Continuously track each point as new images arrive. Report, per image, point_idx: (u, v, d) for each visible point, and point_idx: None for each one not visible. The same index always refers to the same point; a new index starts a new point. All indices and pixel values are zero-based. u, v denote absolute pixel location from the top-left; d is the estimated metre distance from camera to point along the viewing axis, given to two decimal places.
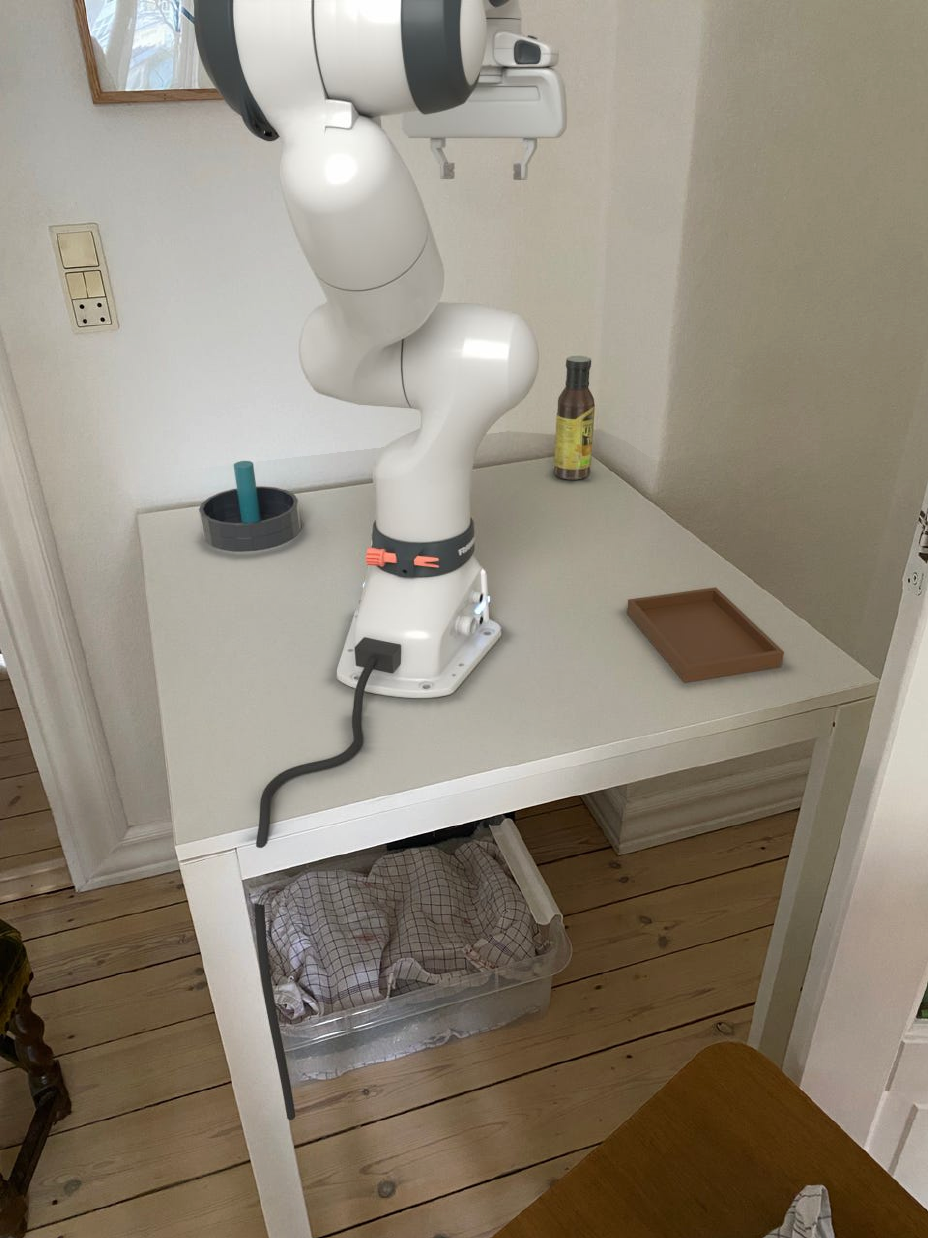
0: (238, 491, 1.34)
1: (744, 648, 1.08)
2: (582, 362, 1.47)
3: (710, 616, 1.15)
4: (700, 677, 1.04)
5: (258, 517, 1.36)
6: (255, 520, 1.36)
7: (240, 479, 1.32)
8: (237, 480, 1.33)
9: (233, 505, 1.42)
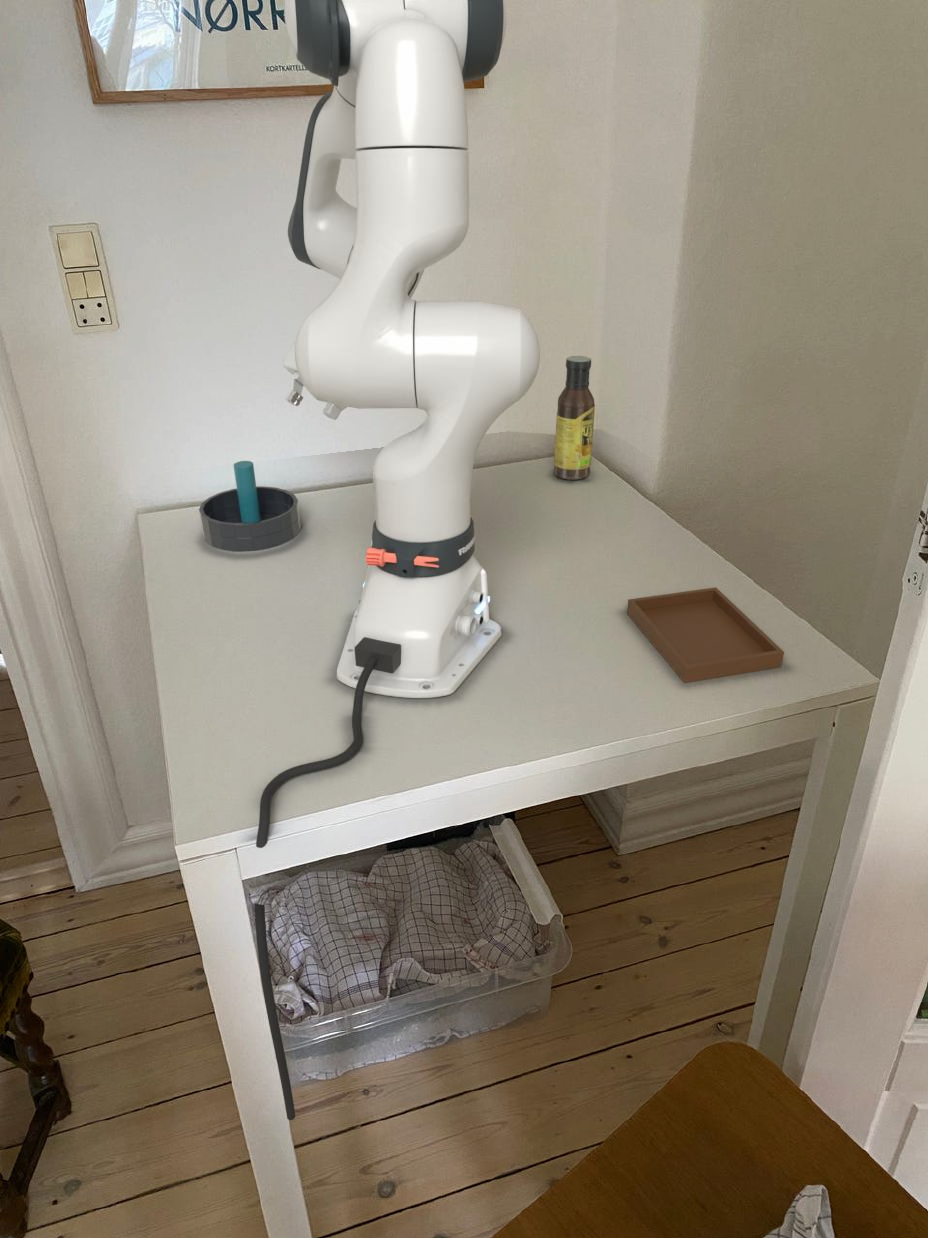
0: (238, 491, 1.34)
1: (744, 648, 1.08)
2: (582, 362, 1.47)
3: (710, 616, 1.15)
4: (700, 677, 1.04)
5: (258, 517, 1.36)
6: (255, 520, 1.36)
7: (240, 479, 1.32)
8: (237, 480, 1.33)
9: (233, 505, 1.42)
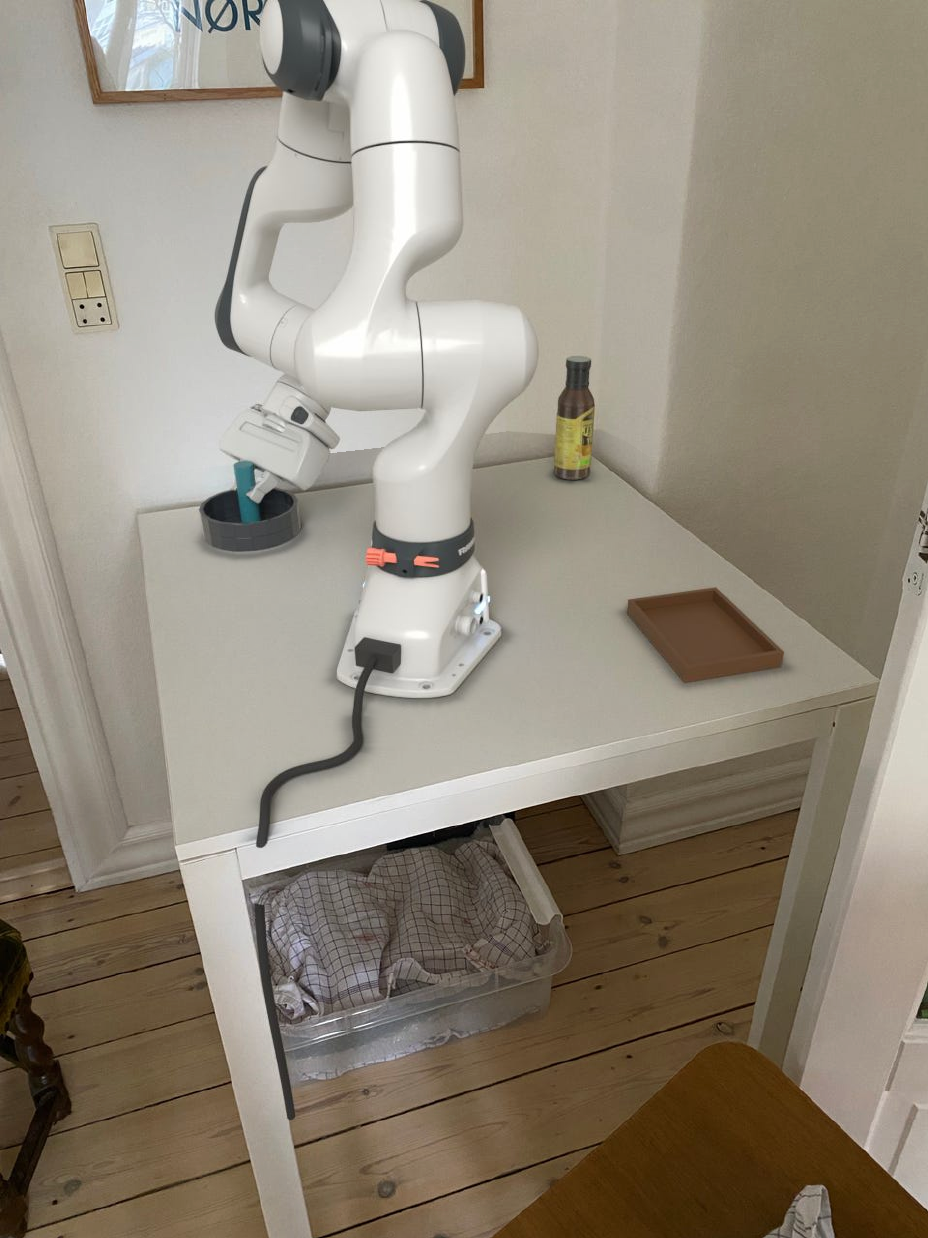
0: (238, 491, 1.34)
1: (744, 648, 1.08)
2: (582, 362, 1.47)
3: (710, 616, 1.15)
4: (700, 677, 1.04)
5: (258, 517, 1.36)
6: (255, 520, 1.36)
7: (240, 479, 1.32)
8: (237, 480, 1.33)
9: (233, 505, 1.42)
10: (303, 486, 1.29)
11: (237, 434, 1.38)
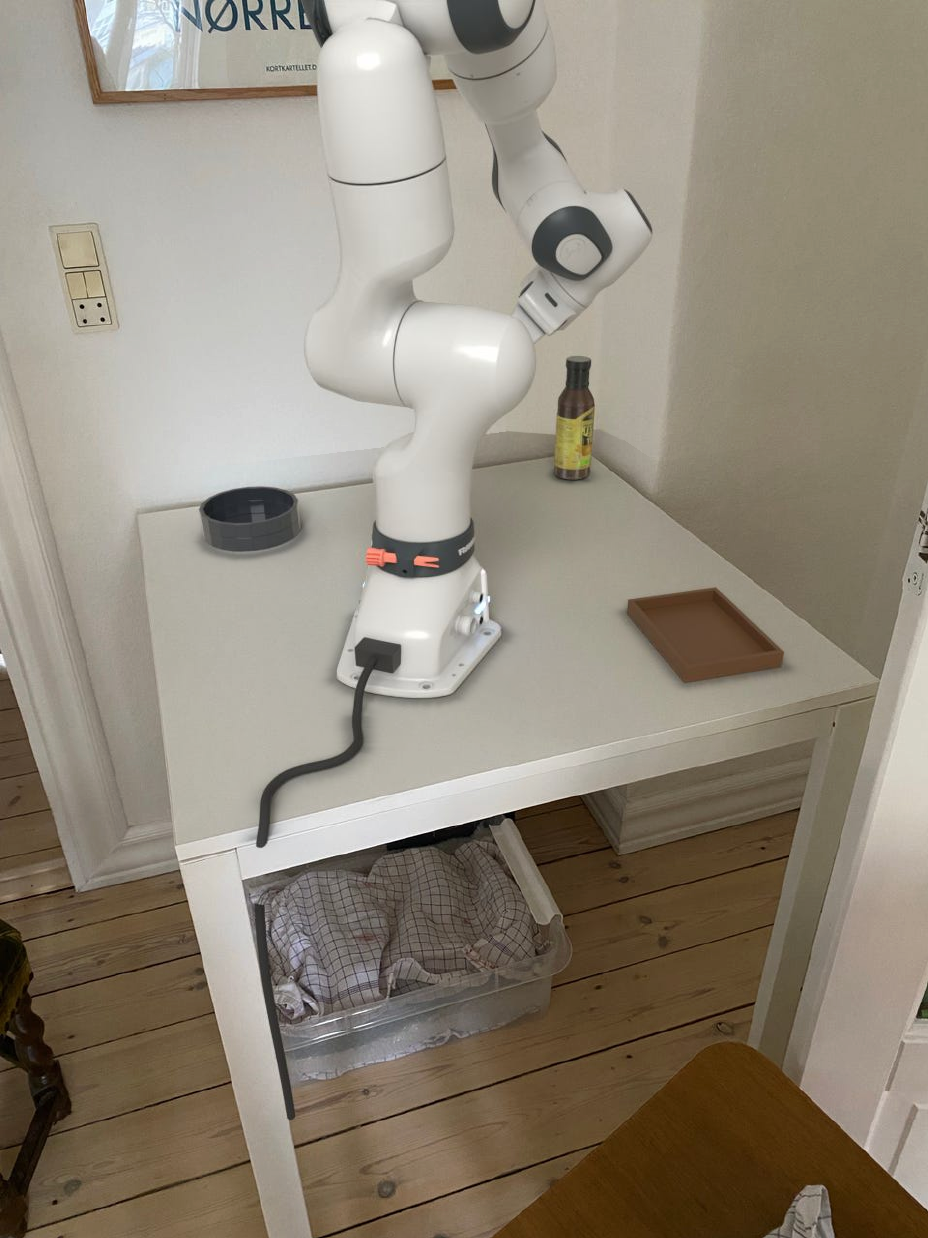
0: None
1: (744, 648, 1.08)
2: (582, 362, 1.47)
3: (710, 616, 1.15)
4: (700, 677, 1.04)
5: None
6: None
7: None
8: None
9: (233, 505, 1.42)
10: None
11: None
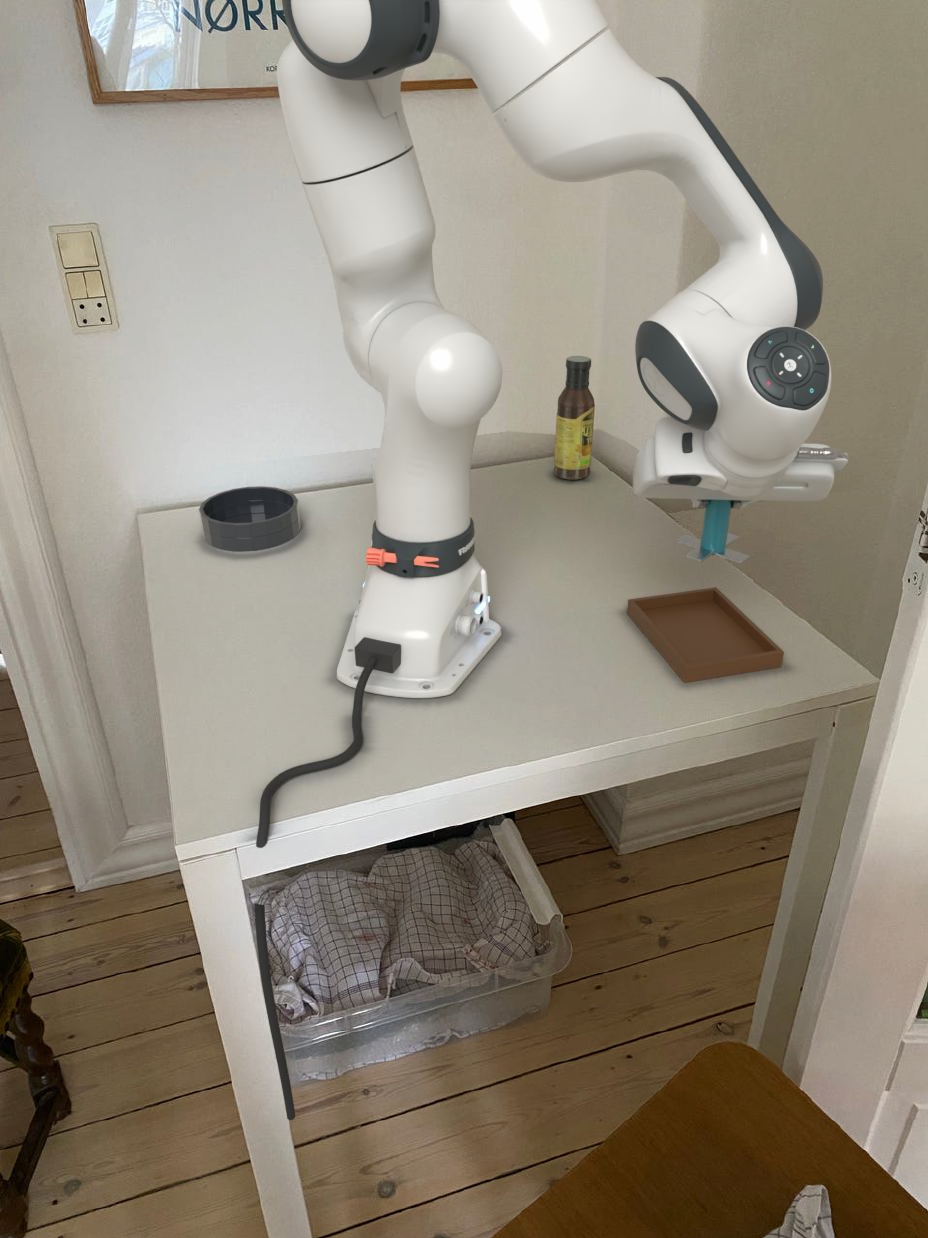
0: None
1: (744, 648, 1.08)
2: (582, 362, 1.47)
3: (710, 616, 1.15)
4: (700, 677, 1.04)
5: (704, 533, 1.04)
6: (702, 533, 1.05)
7: None
8: None
9: (233, 505, 1.42)
10: None
11: None
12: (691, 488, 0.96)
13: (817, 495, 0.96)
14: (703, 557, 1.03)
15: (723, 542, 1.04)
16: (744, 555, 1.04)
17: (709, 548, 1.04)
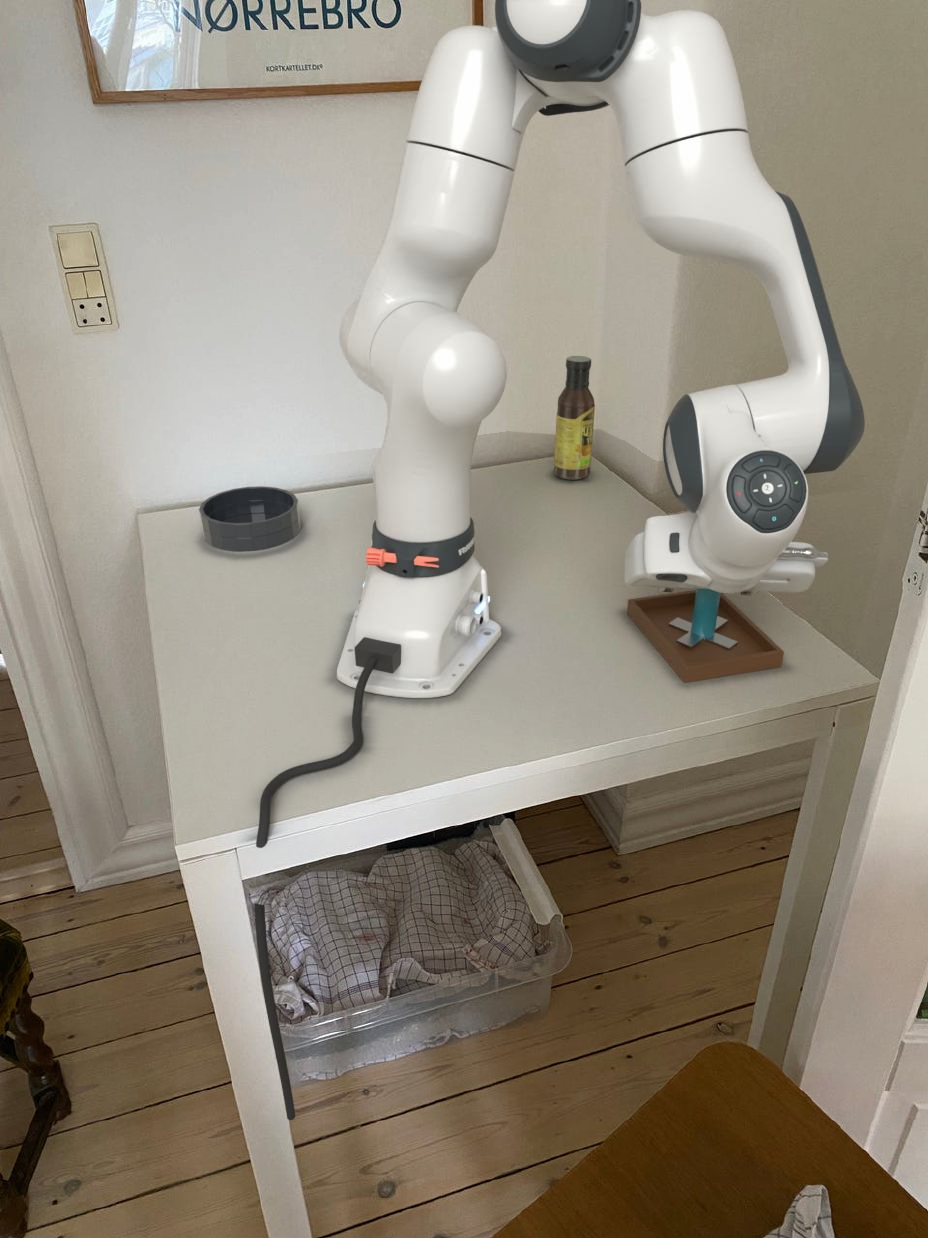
0: None
1: (744, 648, 1.08)
2: (582, 362, 1.47)
3: None
4: (700, 677, 1.04)
5: (694, 619, 1.10)
6: (692, 618, 1.10)
7: None
8: None
9: (233, 505, 1.42)
10: None
11: None
12: None
13: (800, 587, 1.00)
14: (693, 643, 1.08)
15: (712, 628, 1.09)
16: (732, 641, 1.09)
17: (699, 634, 1.10)
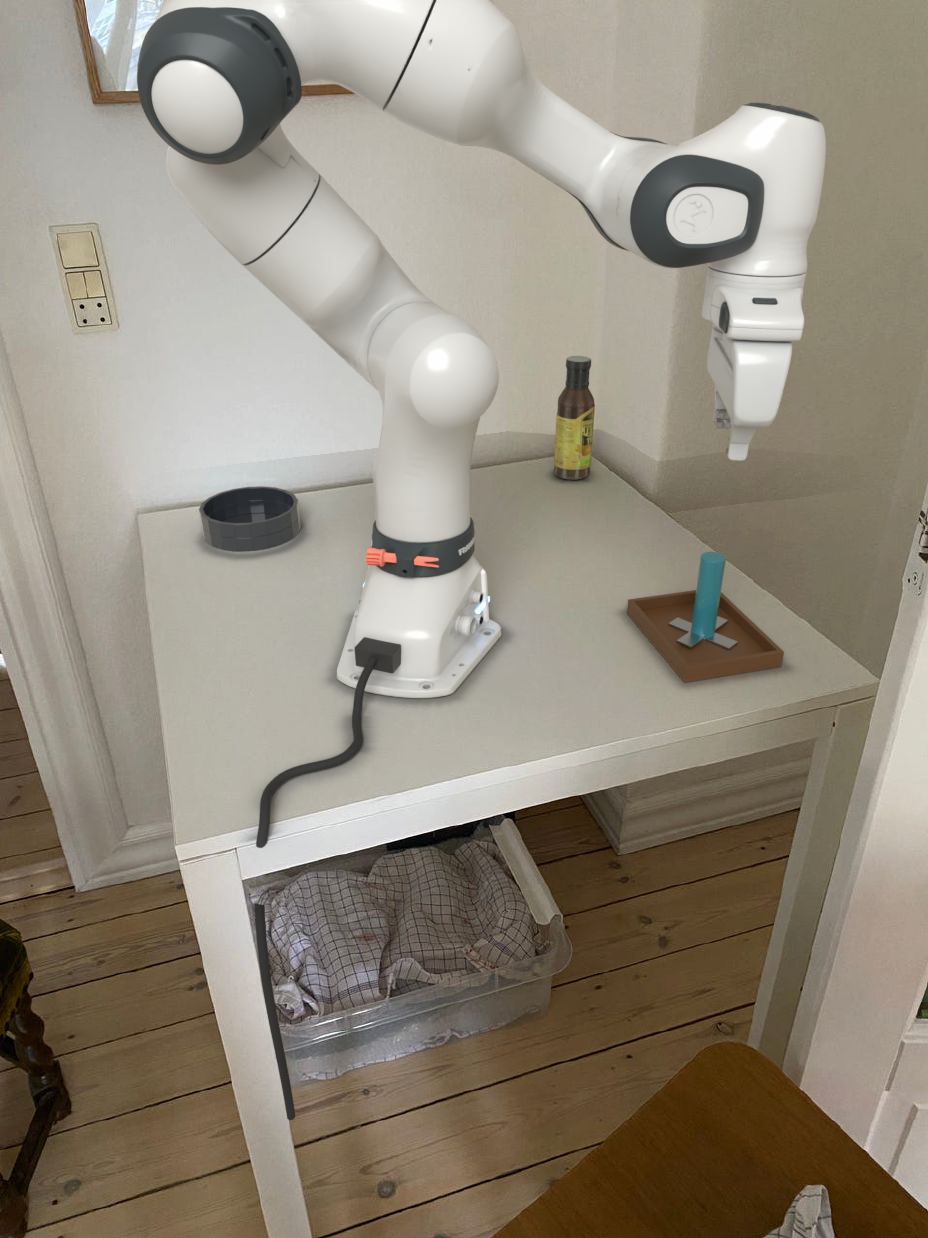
0: None
1: (744, 648, 1.08)
2: (582, 362, 1.47)
3: None
4: (700, 677, 1.04)
5: (694, 619, 1.10)
6: (692, 618, 1.10)
7: None
8: None
9: (233, 505, 1.42)
10: (759, 424, 0.83)
11: (713, 348, 0.96)
12: None
13: None
14: (693, 643, 1.08)
15: (712, 628, 1.09)
16: (732, 641, 1.09)
17: (699, 634, 1.10)
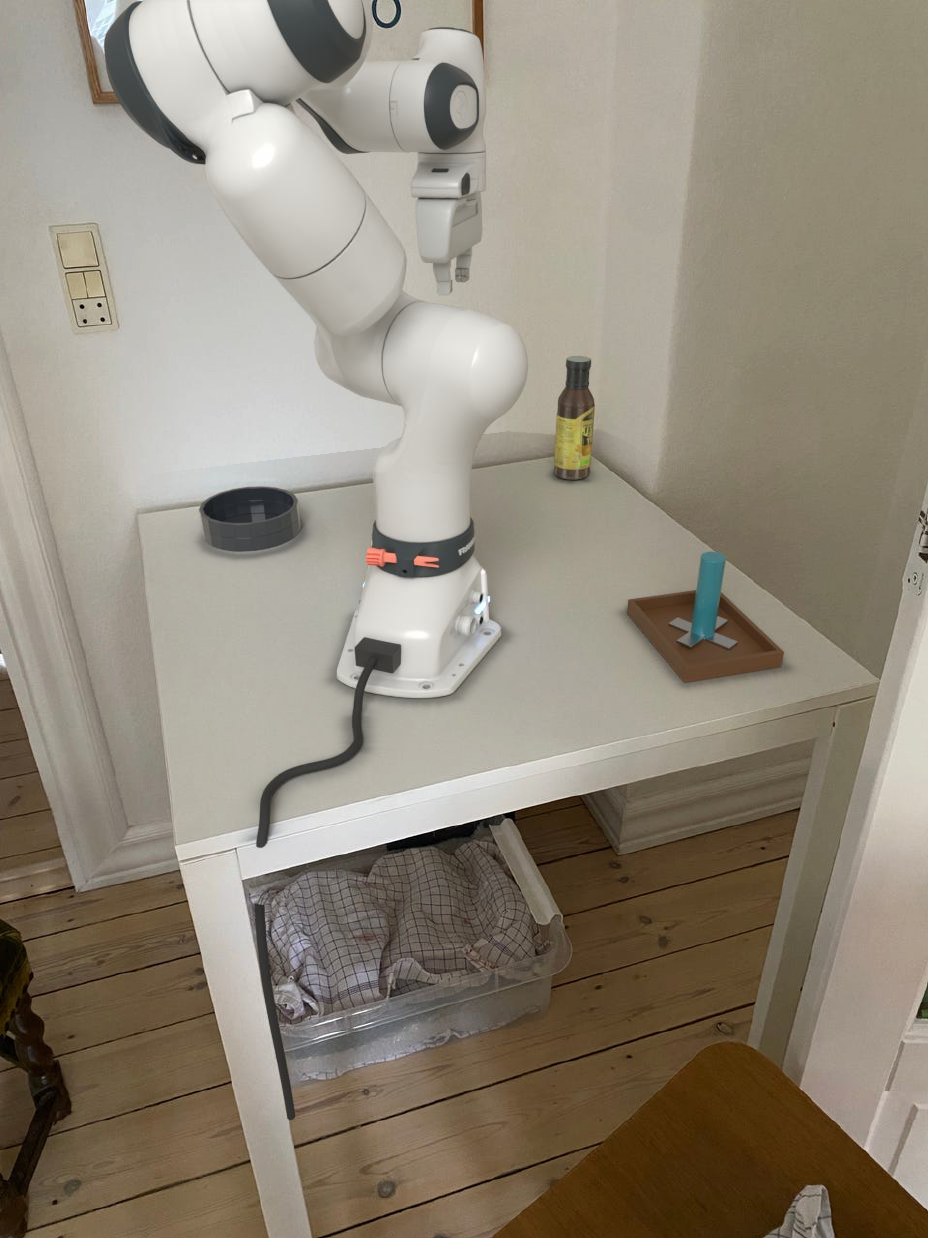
0: None
1: (744, 648, 1.08)
2: (582, 362, 1.47)
3: None
4: (700, 677, 1.04)
5: (694, 619, 1.10)
6: (692, 618, 1.10)
7: None
8: None
9: (233, 505, 1.42)
10: (438, 260, 1.16)
11: None
12: (457, 229, 1.19)
13: (481, 223, 1.30)
14: (693, 643, 1.08)
15: (712, 628, 1.09)
16: (732, 641, 1.09)
17: (699, 634, 1.10)
